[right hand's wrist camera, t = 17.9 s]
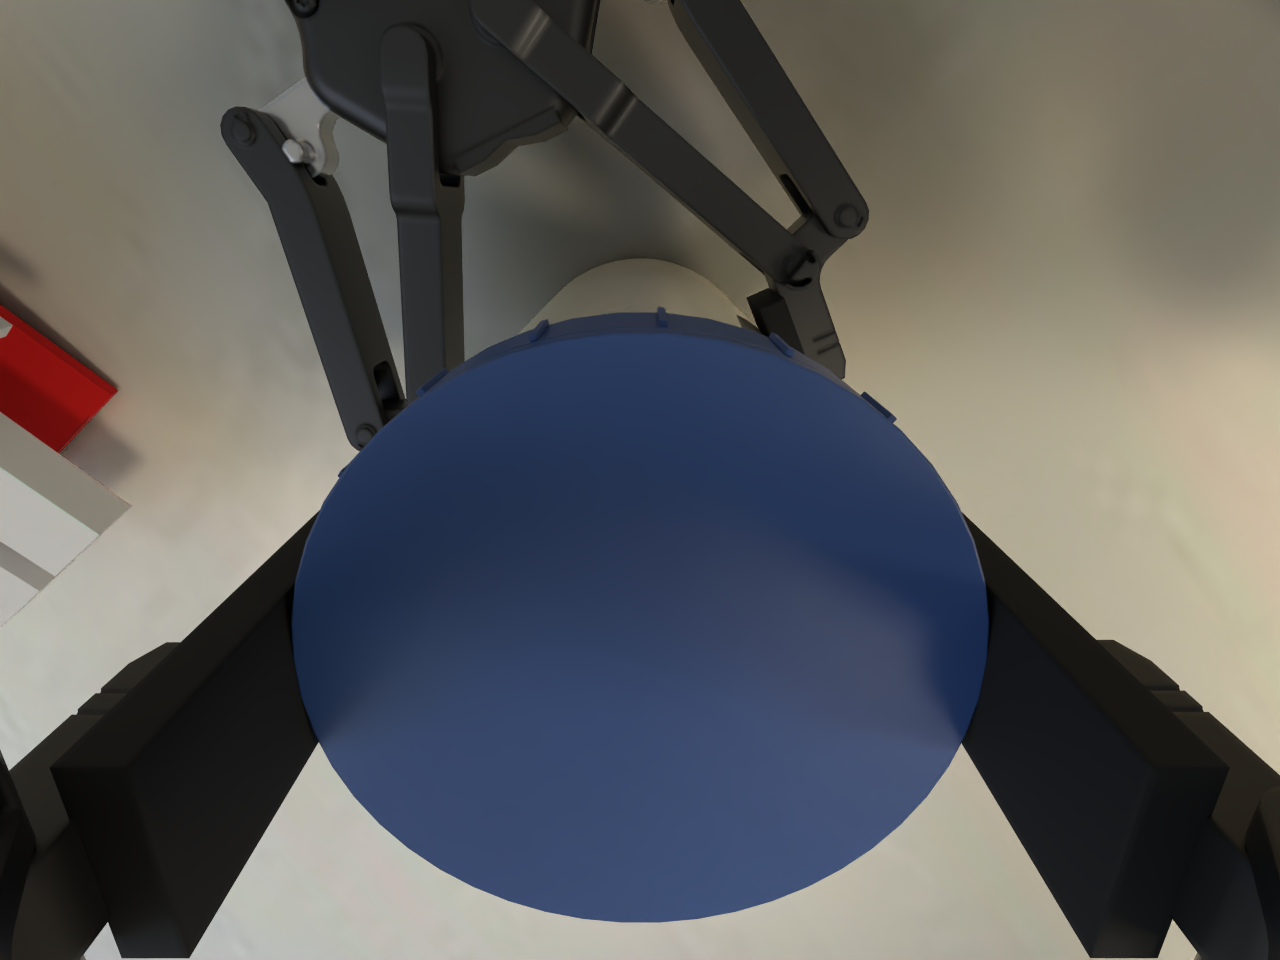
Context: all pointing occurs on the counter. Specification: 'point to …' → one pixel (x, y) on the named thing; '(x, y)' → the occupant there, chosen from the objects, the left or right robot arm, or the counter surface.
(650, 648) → the lid
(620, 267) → the jar
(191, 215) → the counter surface
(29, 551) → the toy
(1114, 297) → the counter surface
